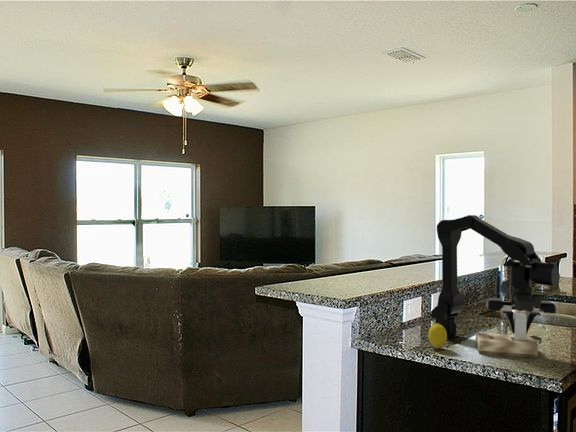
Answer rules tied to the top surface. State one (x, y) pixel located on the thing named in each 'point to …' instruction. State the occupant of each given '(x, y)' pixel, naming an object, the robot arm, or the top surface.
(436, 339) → the lemon
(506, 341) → the socket block
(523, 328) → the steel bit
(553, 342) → the top surface
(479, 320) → the top surface
